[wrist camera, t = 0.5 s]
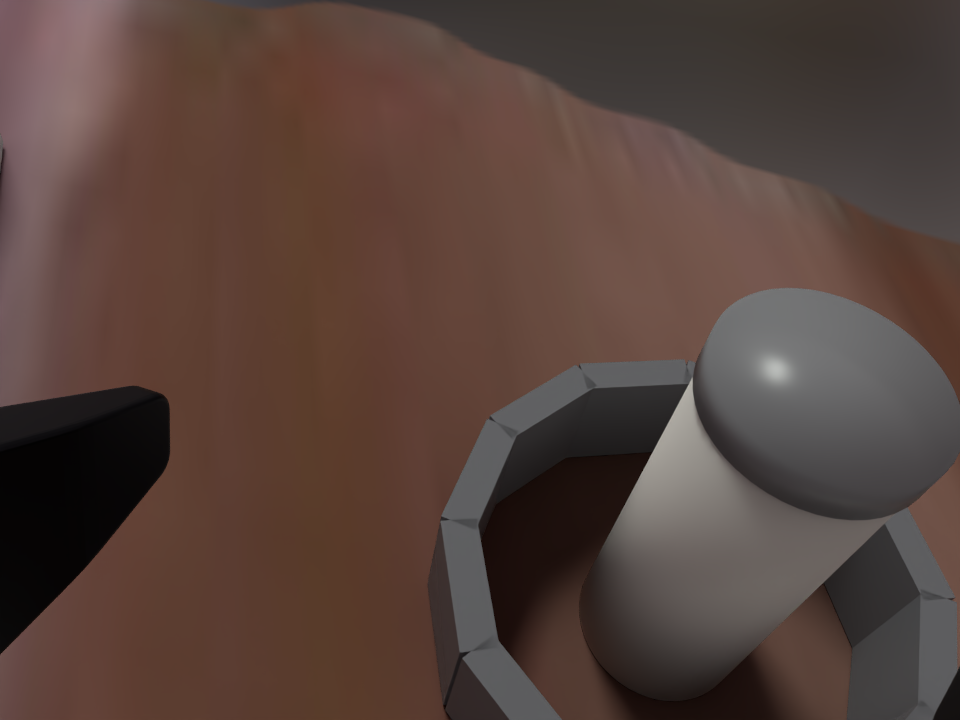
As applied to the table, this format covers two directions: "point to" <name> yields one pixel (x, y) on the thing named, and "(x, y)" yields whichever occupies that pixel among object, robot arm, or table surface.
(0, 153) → the supplement box
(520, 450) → the collar
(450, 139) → the table surface
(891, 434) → the canister
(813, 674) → the table surface
